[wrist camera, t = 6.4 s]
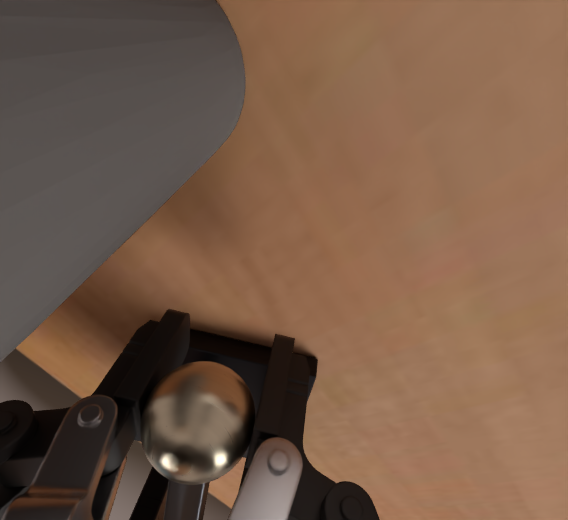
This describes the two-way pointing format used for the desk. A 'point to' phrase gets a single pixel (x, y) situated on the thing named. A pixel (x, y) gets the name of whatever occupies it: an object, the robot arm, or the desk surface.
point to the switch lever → (196, 432)
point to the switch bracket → (248, 365)
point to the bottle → (100, 133)
